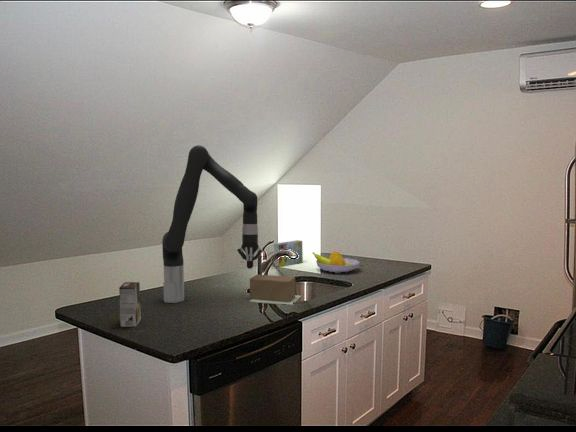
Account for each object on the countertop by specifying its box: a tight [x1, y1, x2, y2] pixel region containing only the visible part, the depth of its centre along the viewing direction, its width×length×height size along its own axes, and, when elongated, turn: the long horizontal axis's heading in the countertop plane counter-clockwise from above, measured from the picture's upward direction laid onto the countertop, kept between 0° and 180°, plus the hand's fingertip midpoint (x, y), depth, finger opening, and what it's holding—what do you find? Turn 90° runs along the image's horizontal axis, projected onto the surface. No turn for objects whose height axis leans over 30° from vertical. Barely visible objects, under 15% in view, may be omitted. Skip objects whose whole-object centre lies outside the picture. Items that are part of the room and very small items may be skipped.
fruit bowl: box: [312, 251, 360, 274], centre depth 302 cm, size 28×27×11 cm
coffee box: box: [118, 281, 142, 328], centre depth 199 cm, size 9×6×16 cm
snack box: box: [273, 239, 304, 268], centre depth 322 cm, size 21×6×15 cm, turn 133°
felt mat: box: [248, 294, 302, 306], centre depth 236 cm, size 16×21×1 cm
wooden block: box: [249, 274, 296, 302], centre depth 236 cm, size 10×10×20 cm
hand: (250, 268), depth 238 cm, fingers closed
